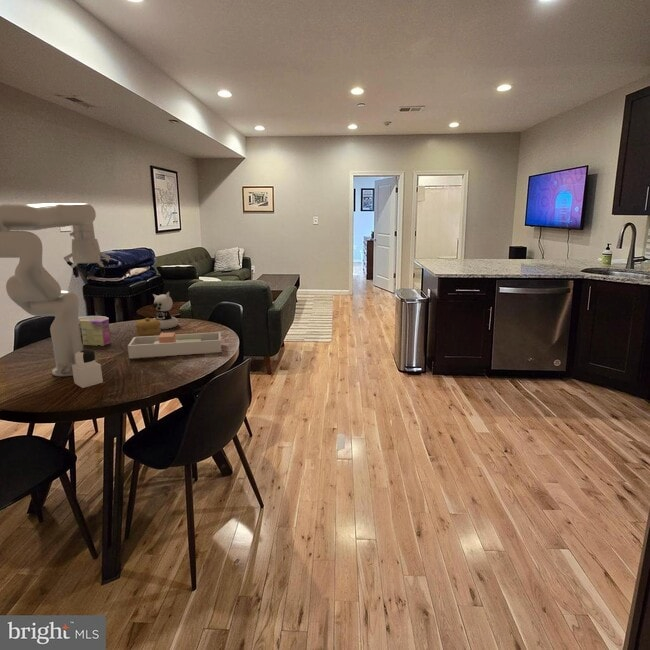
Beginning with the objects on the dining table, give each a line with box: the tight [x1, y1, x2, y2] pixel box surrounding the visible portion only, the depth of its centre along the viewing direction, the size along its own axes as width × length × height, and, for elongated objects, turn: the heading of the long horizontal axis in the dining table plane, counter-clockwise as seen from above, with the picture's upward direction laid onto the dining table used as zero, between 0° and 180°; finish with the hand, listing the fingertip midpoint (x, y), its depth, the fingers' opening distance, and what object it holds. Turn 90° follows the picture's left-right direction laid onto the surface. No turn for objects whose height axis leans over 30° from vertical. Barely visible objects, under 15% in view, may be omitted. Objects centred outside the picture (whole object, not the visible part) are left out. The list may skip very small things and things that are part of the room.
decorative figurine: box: [152, 291, 179, 330], centre depth 229 cm, size 15×15×20 cm
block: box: [158, 331, 176, 343], centre depth 186 cm, size 7×6×4 cm
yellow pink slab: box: [79, 315, 110, 336], centre depth 214 cm, size 25×23×8 cm
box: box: [80, 318, 112, 347], centre depth 198 cm, size 10×6×12 cm, turn 84°
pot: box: [135, 317, 162, 337], centre depth 210 cm, size 12×12×10 cm
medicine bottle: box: [72, 349, 104, 389], centre depth 151 cm, size 7×7×12 cm
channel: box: [127, 331, 223, 360], centre depth 188 cm, size 14×38×6 cm, turn 104°
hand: (89, 276), depth 178 cm, fingers open, 9 cm apart
